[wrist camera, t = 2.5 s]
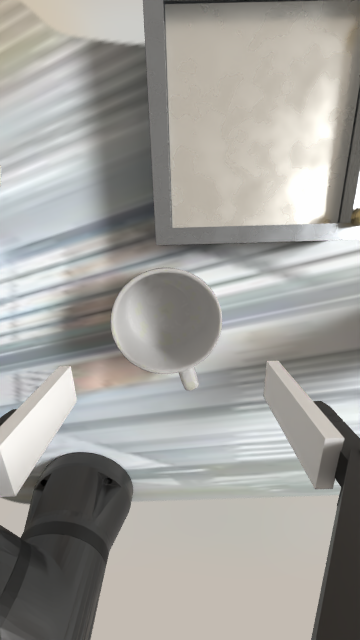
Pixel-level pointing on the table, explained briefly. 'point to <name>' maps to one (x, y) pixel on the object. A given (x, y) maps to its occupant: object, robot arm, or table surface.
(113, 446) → the table surface
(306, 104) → the grey serving tray
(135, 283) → the teacup
